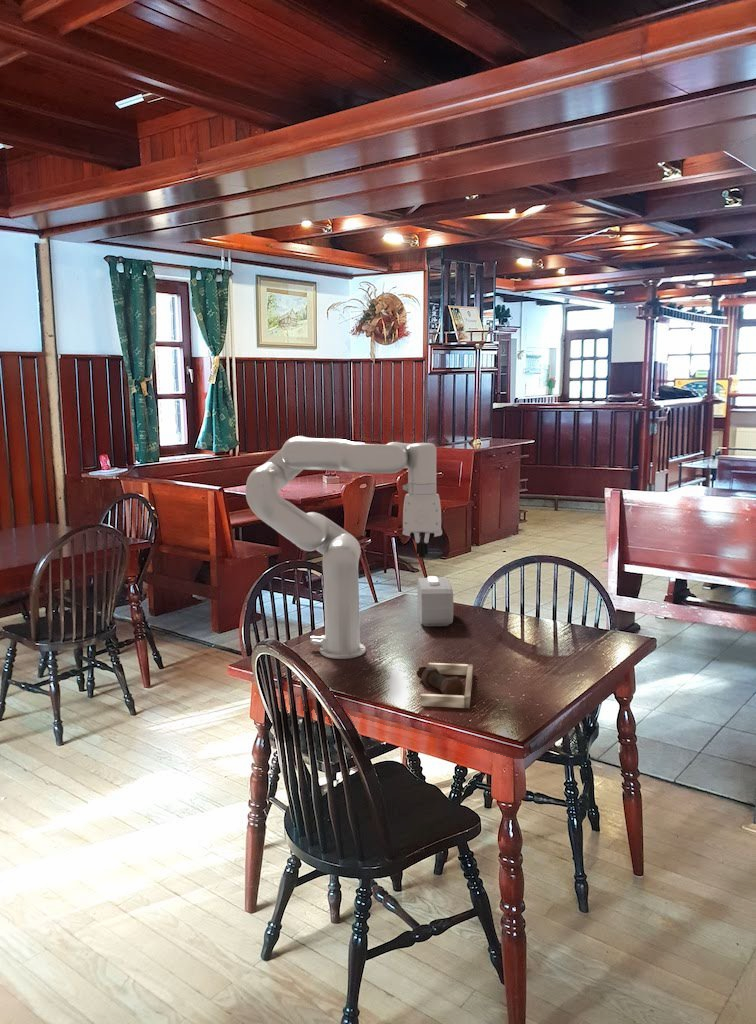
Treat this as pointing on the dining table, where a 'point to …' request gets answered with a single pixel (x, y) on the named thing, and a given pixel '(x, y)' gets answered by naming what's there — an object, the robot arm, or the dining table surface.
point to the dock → (450, 700)
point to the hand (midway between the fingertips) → (422, 556)
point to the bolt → (440, 681)
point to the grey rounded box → (435, 601)
